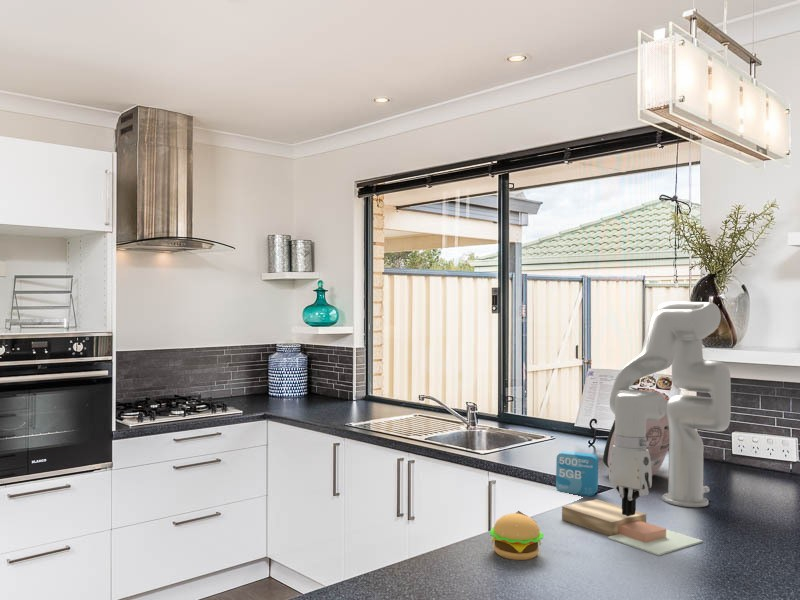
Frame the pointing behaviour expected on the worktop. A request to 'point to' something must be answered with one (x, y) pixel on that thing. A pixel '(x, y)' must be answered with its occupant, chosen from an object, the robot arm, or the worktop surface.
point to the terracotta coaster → (642, 531)
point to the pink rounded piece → (654, 434)
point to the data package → (577, 473)
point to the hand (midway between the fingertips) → (628, 514)
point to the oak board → (599, 516)
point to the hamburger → (516, 537)
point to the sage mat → (659, 542)
